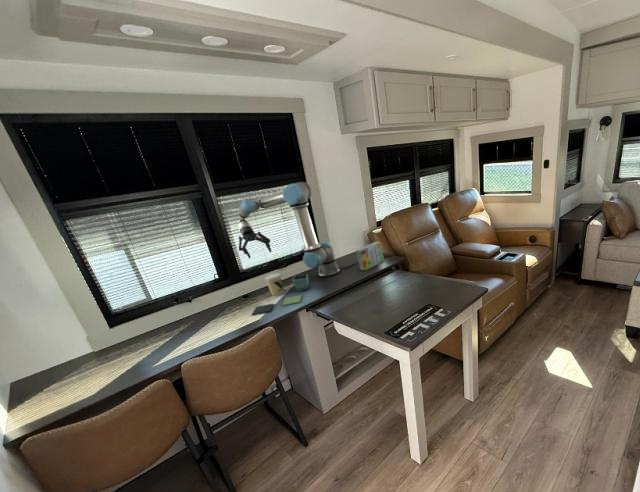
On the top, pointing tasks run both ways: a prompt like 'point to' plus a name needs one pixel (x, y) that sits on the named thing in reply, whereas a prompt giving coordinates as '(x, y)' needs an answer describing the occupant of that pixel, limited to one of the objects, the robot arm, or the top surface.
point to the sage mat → (292, 300)
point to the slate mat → (262, 309)
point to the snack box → (370, 256)
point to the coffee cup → (275, 284)
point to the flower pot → (301, 282)
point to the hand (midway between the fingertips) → (260, 254)
